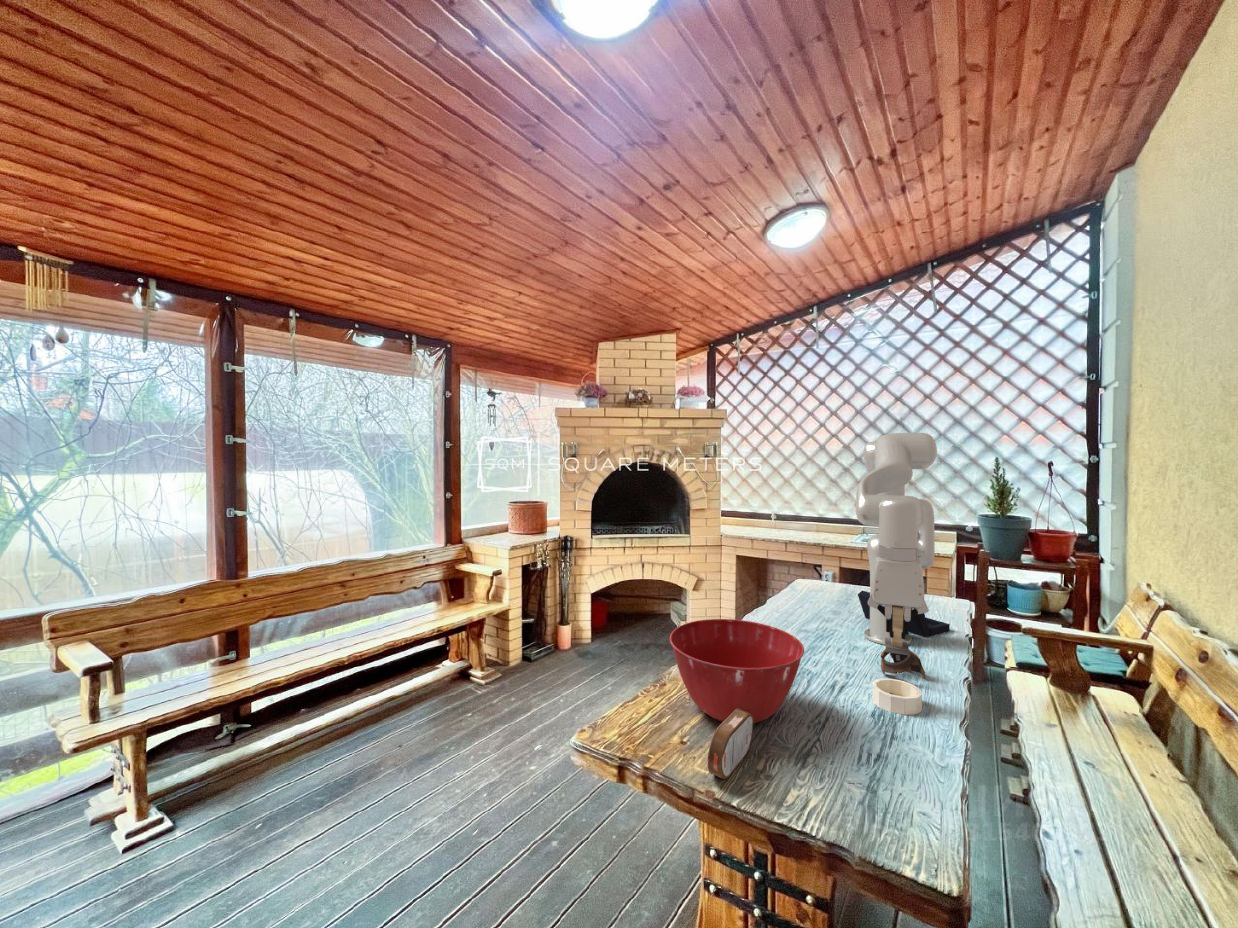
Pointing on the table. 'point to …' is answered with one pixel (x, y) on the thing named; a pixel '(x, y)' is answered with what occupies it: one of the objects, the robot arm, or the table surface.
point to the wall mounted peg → (897, 634)
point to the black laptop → (916, 624)
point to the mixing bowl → (736, 665)
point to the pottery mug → (901, 663)
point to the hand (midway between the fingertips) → (897, 635)
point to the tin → (730, 743)
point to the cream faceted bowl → (897, 696)
